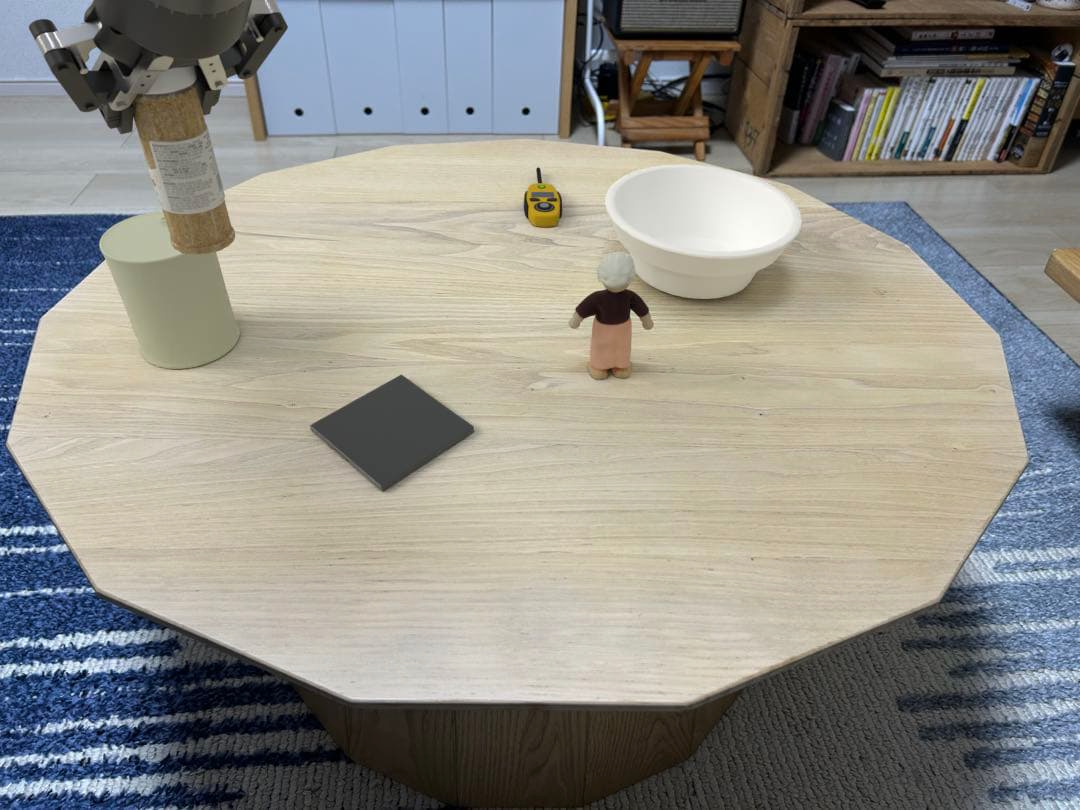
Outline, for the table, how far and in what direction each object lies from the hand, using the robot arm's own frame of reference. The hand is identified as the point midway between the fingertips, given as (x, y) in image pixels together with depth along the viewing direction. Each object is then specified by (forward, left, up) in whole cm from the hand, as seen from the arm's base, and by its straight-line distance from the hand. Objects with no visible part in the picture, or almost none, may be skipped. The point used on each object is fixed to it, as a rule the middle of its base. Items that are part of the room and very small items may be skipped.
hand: (158, 111), depth 52 cm
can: (-2, +11, -26) cm, 28 cm away
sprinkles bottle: (0, -2, -9) cm, 9 cm away
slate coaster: (+10, -10, -26) cm, 30 cm away
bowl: (+50, -2, -26) cm, 56 cm away
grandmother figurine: (+31, -12, -26) cm, 42 cm away
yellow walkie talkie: (+44, +21, -26) cm, 55 cm away
